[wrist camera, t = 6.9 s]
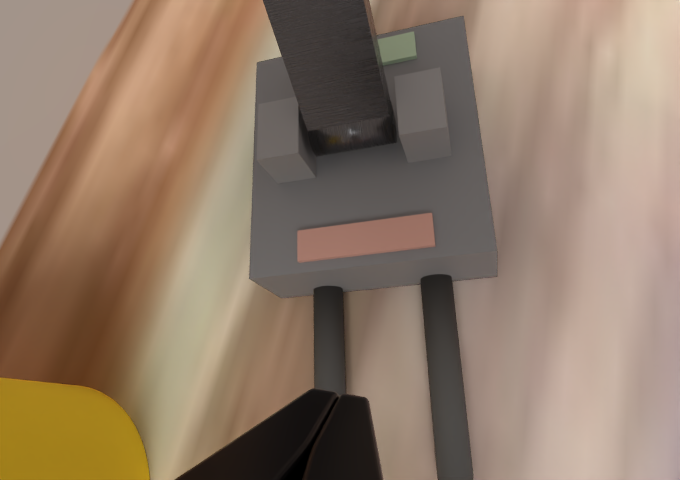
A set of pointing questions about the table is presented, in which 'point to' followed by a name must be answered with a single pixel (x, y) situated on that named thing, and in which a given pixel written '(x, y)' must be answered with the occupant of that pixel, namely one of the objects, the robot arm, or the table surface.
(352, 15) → the breaker lever
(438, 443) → the pair of plug prongs
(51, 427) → the tape roll
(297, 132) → the box
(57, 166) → the table surface
